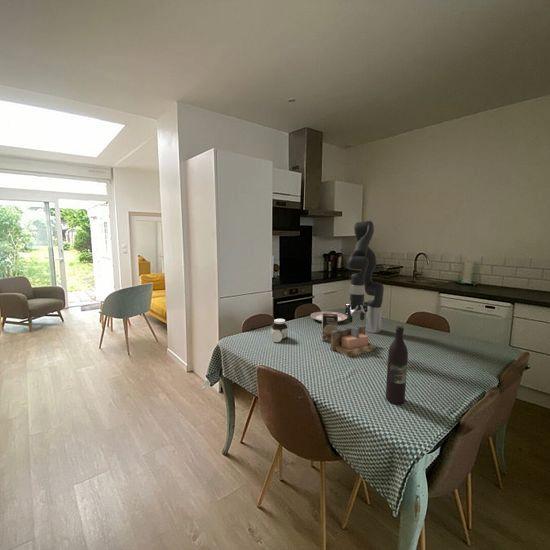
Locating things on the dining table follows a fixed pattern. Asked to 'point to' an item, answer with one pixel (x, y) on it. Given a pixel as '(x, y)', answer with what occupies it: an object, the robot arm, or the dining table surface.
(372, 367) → the dining table surface
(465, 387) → the dining table surface
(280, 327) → the spread jar
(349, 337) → the tan box with handle
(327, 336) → the coffee box
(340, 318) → the dinner plate
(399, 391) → the wine bottle
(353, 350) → the brown grey open box
